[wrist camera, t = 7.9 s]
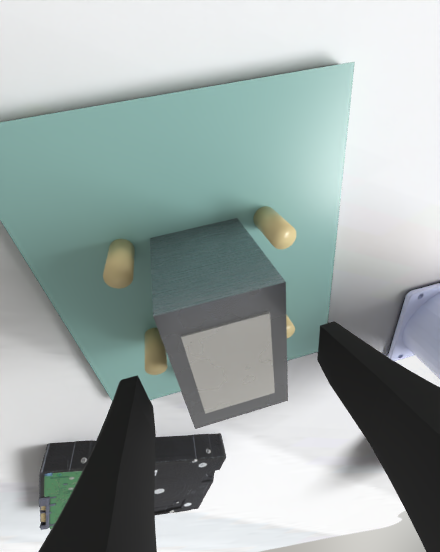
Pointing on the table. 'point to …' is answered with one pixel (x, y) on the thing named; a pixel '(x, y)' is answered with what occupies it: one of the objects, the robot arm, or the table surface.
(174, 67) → the table surface
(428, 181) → the table surface
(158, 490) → the disk drive
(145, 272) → the teal peg board
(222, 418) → the dark grey block
